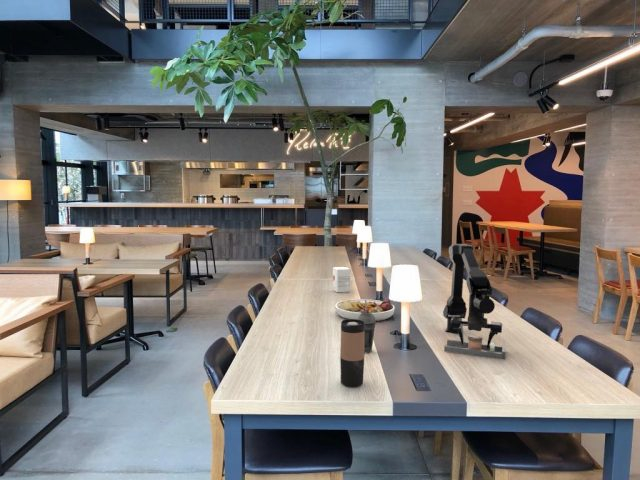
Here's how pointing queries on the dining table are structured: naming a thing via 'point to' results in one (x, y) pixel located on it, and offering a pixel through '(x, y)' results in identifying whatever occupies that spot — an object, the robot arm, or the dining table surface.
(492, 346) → the pusher plate
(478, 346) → the jar
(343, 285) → the supplement box
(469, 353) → the lane
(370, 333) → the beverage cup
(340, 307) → the bowl
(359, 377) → the travel mug
